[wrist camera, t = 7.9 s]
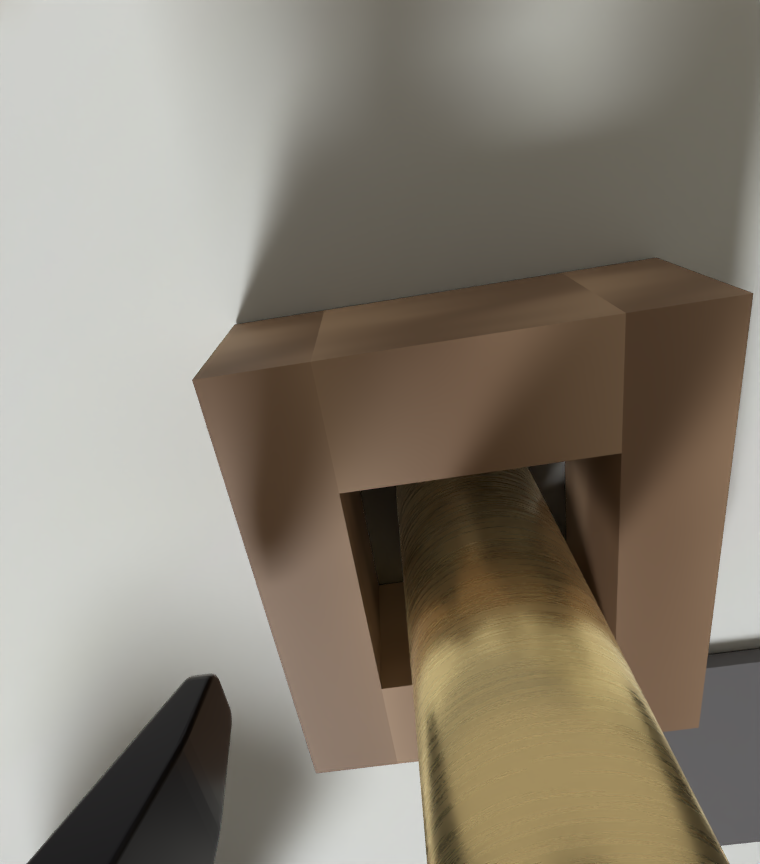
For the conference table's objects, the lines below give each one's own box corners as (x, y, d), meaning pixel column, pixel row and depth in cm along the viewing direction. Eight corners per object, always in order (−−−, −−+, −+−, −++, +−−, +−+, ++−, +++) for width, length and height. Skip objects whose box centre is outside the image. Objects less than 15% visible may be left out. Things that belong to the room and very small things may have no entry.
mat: (810, 642, 15) (821, 654, 15) (768, 826, 19) (776, 839, 18) (465, 685, 16) (467, 698, 15) (487, 857, 19) (489, 870, 19)
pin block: (656, 258, 11) (753, 293, 8) (637, 621, 15) (698, 727, 12) (235, 324, 11) (192, 380, 8) (325, 661, 15) (316, 773, 12)
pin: (528, 422, 12) (981, 1184, 3) (533, 538, 14) (867, 1314, 4) (387, 443, 12) (440, 1225, 3) (405, 555, 14) (480, 1341, 5)
